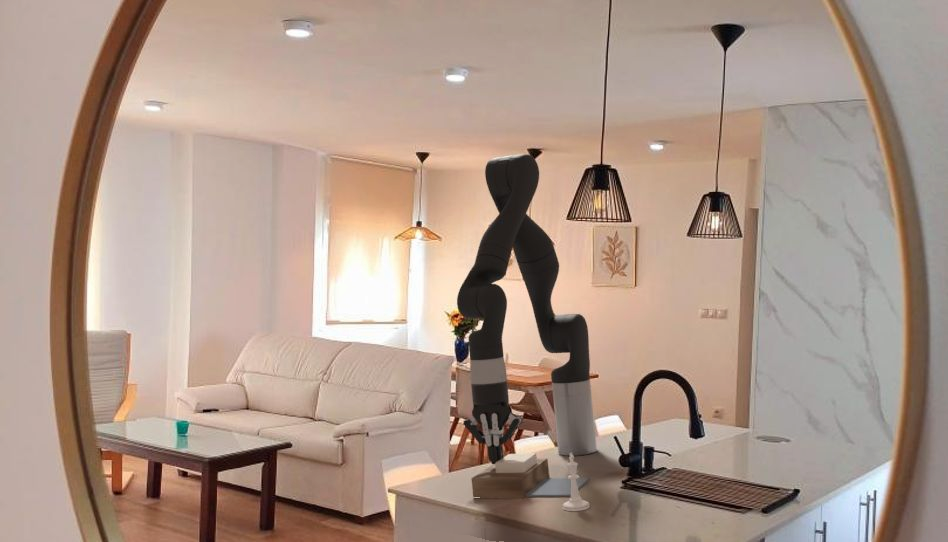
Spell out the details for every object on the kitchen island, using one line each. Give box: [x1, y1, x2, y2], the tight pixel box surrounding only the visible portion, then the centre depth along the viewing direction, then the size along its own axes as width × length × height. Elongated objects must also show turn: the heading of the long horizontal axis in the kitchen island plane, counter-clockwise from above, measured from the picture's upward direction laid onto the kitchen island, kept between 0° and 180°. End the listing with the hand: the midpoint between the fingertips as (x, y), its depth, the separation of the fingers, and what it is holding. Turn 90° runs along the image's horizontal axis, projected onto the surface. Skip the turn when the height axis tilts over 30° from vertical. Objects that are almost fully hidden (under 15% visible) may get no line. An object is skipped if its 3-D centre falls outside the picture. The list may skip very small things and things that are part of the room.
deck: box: [471, 457, 550, 499], centre depth 186 cm, size 18×10×4 cm, turn 159°
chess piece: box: [562, 453, 591, 512], centre depth 165 cm, size 5×5×10 cm
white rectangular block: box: [495, 452, 538, 473], centre depth 186 cm, size 9×6×2 cm, turn 159°
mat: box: [524, 477, 590, 498], centre depth 181 cm, size 14×10×1 cm
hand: (496, 463), depth 187 cm, fingers closed
